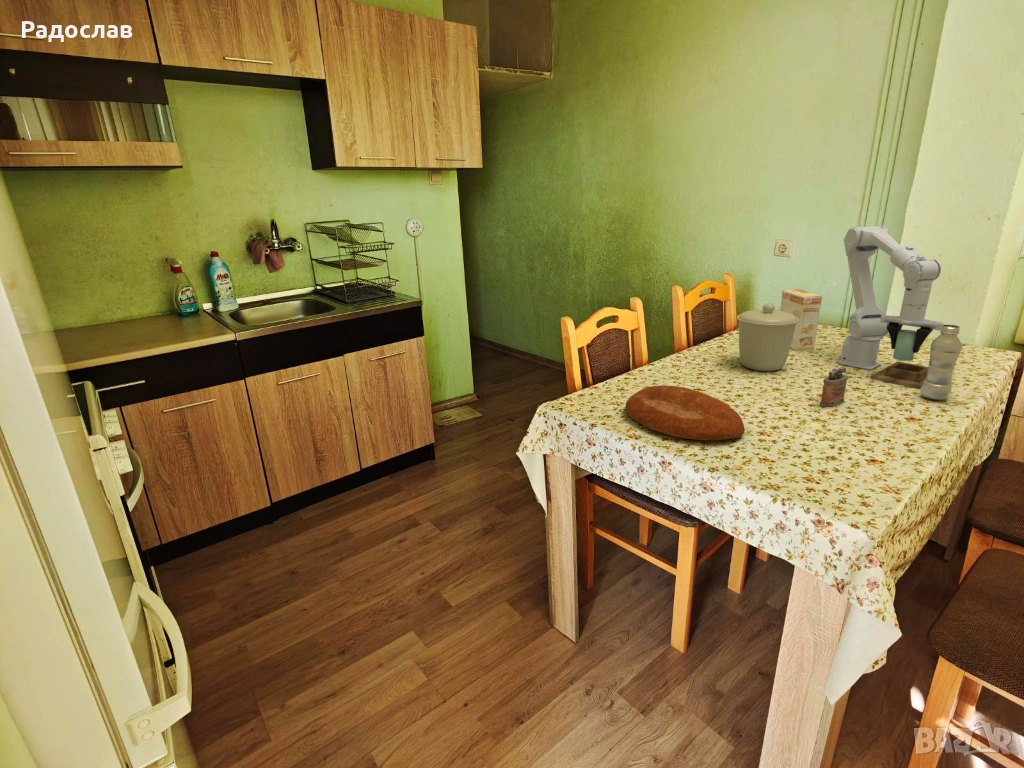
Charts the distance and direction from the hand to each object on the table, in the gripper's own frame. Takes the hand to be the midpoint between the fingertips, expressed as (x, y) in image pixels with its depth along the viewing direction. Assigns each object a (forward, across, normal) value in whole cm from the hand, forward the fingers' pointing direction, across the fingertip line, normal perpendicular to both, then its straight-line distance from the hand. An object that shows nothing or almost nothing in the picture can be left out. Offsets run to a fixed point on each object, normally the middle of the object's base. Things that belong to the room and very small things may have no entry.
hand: (904, 350), depth 152 cm
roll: (+2, 0, 0) cm, 2 cm away
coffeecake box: (+10, -39, +17) cm, 44 cm away
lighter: (+10, -4, -32) cm, 33 cm away
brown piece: (+9, +1, +4) cm, 10 cm away
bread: (+10, -24, -70) cm, 75 cm away
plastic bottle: (+10, +11, -9) cm, 17 cm away
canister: (+10, -34, -15) cm, 38 cm away
